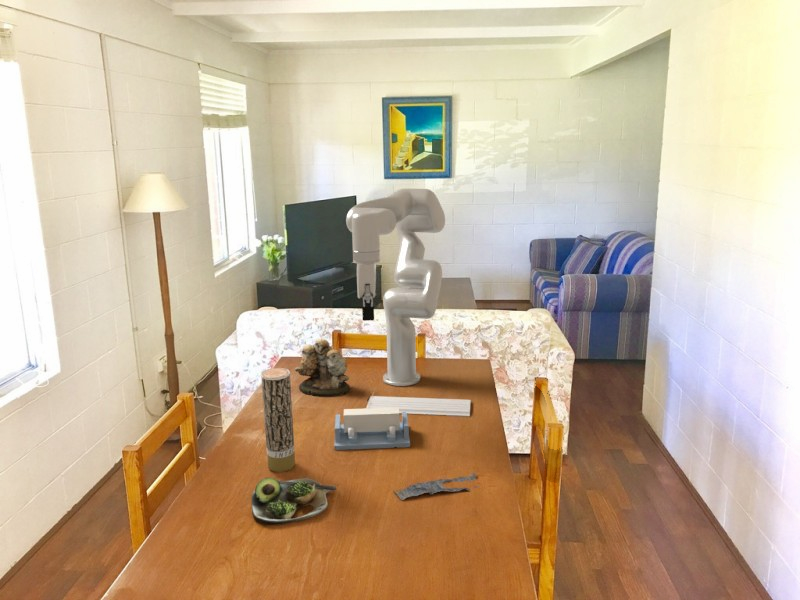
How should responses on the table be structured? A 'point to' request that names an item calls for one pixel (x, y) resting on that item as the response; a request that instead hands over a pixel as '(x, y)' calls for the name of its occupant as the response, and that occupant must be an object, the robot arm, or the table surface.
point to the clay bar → (371, 419)
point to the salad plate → (287, 499)
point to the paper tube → (278, 419)
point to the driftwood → (432, 487)
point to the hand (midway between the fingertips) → (368, 315)
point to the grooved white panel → (423, 405)
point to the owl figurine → (323, 370)
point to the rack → (371, 437)
